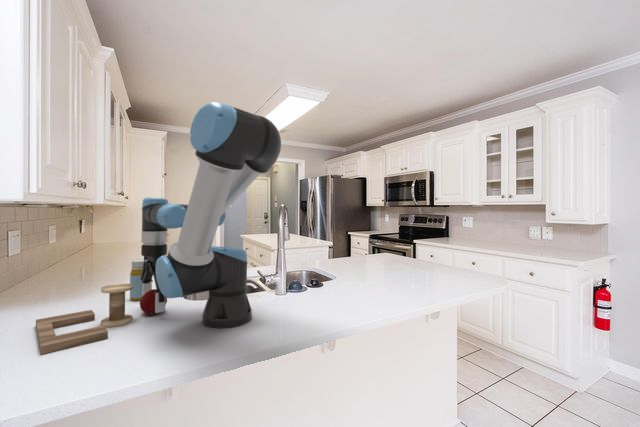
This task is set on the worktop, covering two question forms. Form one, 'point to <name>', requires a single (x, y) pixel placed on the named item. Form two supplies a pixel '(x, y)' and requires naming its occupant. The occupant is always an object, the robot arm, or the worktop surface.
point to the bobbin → (116, 305)
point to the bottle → (136, 280)
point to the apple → (149, 302)
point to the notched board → (68, 340)
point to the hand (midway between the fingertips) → (153, 306)
